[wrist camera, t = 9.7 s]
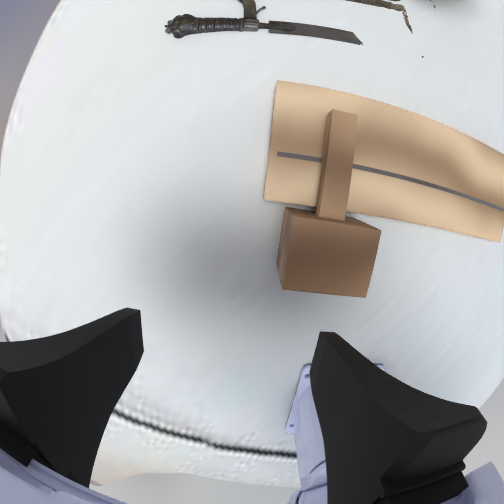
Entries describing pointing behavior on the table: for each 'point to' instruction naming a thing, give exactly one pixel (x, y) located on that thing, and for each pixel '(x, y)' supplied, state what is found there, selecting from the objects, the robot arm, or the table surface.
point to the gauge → (329, 226)
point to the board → (386, 163)
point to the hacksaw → (250, 23)
